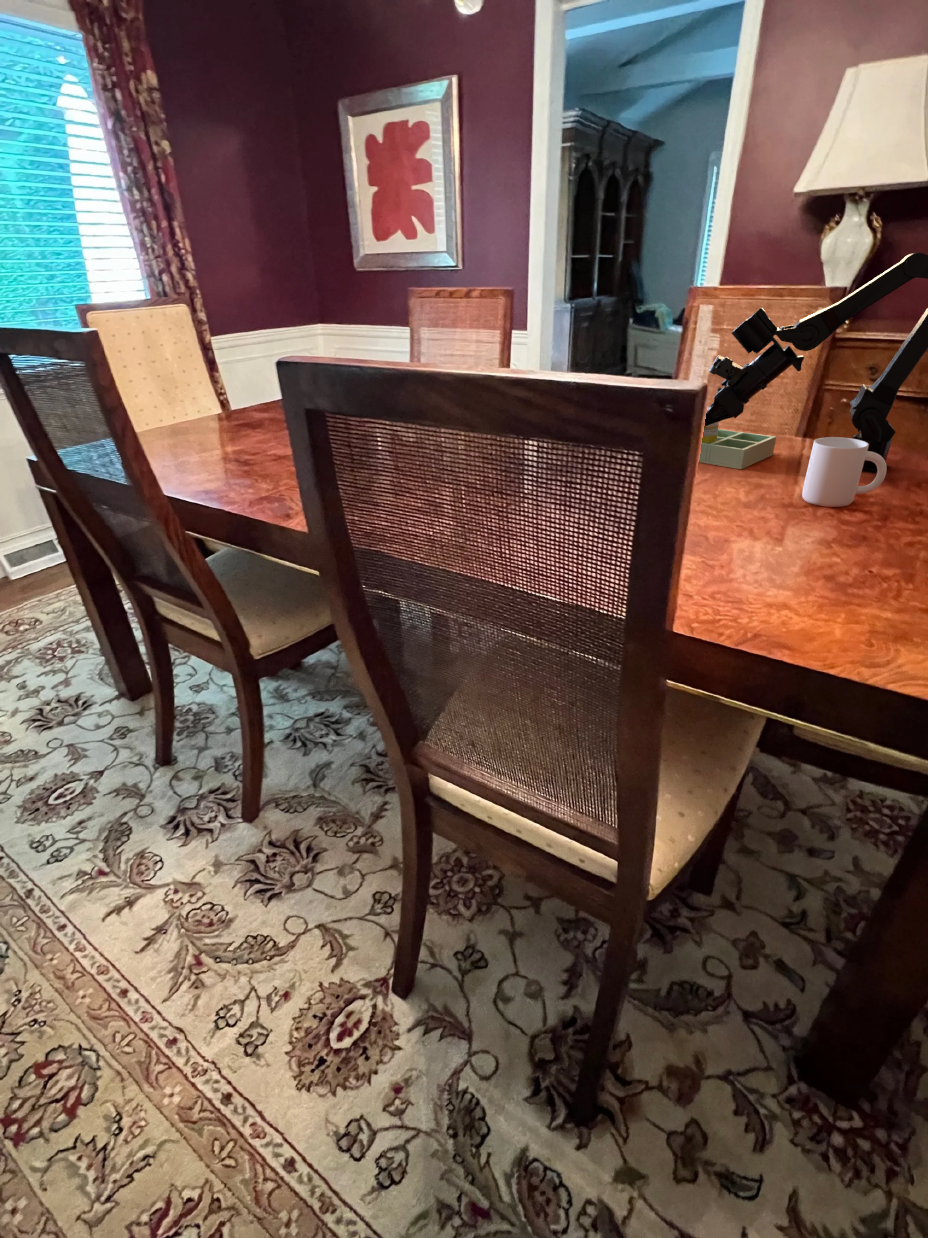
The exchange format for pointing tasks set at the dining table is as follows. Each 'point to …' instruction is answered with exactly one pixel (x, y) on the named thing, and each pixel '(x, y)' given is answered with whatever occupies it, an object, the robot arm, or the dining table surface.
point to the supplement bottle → (710, 432)
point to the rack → (737, 449)
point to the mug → (839, 471)
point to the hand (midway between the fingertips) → (699, 423)
